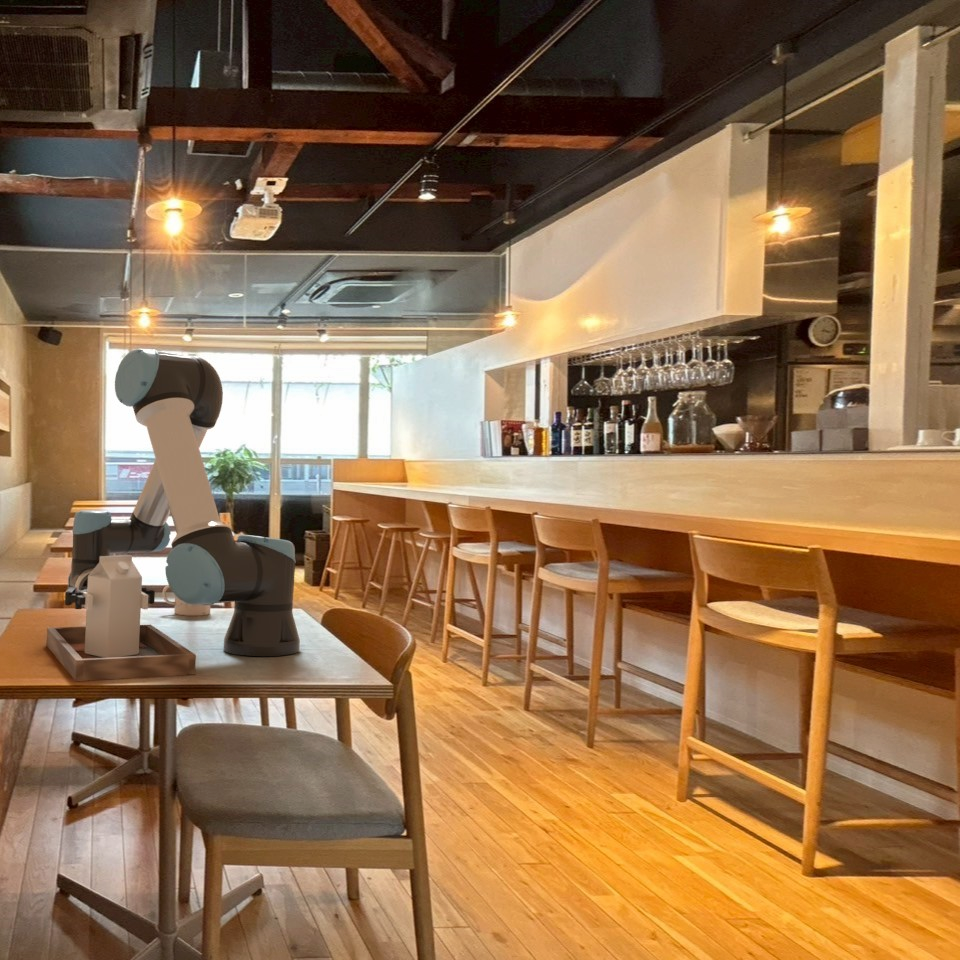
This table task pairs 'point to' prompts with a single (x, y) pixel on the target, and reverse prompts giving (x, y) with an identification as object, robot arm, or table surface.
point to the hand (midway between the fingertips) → (118, 602)
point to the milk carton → (114, 608)
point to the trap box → (167, 664)
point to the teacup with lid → (186, 606)
